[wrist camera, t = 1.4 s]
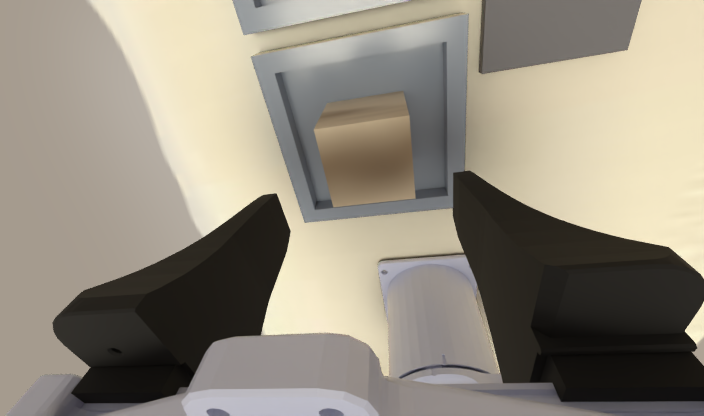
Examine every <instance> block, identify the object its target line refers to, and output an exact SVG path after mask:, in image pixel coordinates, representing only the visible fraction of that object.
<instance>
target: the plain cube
mask: <svg viewBox="0 0 704 416" xmlns="http://www.w3.org/2000/svg"><path fill="white" fill-rule="evenodd" d="M314 133H315V137H316V141H317V145H318V149H319V153H320V157H321V160H322V164H323V168H324V172H325V176H326V180H327V184H328V188H329V192H330V196H331V200H332V204H333V207H342V206H351V205H360V204H370V203H379V202H388V201H398V200H407V199H416V198H415V184H414V171H413V157H412V144H411V131H410V117H409V112H408V108H407V104H406V100H405V96H404V92H403V91H398V92H392V93H386V94H380V95H374V96H368V97H361V98H355V99H349V100H343V101H337V102H331V103H327V104H326V106H325V108H324V110H323V112H322V114H321V116H320V118H319V120H318V122H317V124H316V126H315V128H314Z"/></svg>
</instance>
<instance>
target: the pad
mask: <svg viewBox="0 0 704 416" xmlns="http://www.w3.org/2000/svg"><path fill="white" fill-rule="evenodd" d="M641 1H642V0H482V22H481V43H480V64H479V72H480V73H482V74H485V73H491V72H497V71H503V70H509V69H515V68H521V67H527V66H533V65H539V64H545V63H551V62H557V61H563V60H569V59H576V58H582V57H588V56H594V55H600V54H606V53H612V52H618V51H624V50H628V46H629V43H630V39H631V36H632V32H633V29H634V25H635V22H636V18H637V15H638V11H639V8H640V4H641Z"/></svg>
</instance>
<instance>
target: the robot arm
mask: <svg viewBox="0 0 704 416" xmlns="http://www.w3.org/2000/svg"><path fill="white" fill-rule="evenodd" d="M453 218H454V222H455V226H456V230H457V234H458V238H459V240H460V243H461V245H462V248H463V250H464V253H465V254H464V255H451V256H438V257H425V258H412V259H399V260H386V261H380V262H379V263H378V272H379V278H380V283H381V289H382V294H383V300H384V305H385V311H386V316H387V322H388V345H389V377H388V376H383V374H382V371H381V367H380V363H379V359H378V357H377V356H376V355H375V353H374V352H373V350H372V349H371V348H370V346H368V345H367V344H366V343H364V342H362V341H360V340H358V339H355V338H353V337H351V336H349V335H342V334H333V333H310V334H286V335H261V332H262V327H263V323H264V319H265V314H266V310H267V306H268V303H269V299H270V296H271V293H272V291H273V288H274V285H275V282H276V280H277V277H278V274H279V272H280V269H281V266H282V263H283V260H284V258H285V255H286V252H287V247H288V243H289V237H290V229H289V226H288V223H287V220H286V218H285V215H284V212H283V210H282V207H281V204H280V201H279V199H278V196H277V194H268V195H262V196H261V197H259V198H257V199H256V200H255V201H253V202H252V203H250V204H249V205H248V206H246V207H245V208H244V209H242V210H241V211H240V212H238V213H237V214H236V215H234V216H233V217H232V218H230V219H229V220H228V221H226V222H225V223H223V224H222V225H221V226H219V227H218V228H216V229H215V230H213V231H212V232H211V233H209V234H208V235H206V236H205V237H203V238H201V239H200V240H198V241H197V242H195V243H193V244H191V245H190V246H188V247H186V248H185V249H183V250H181V251H179V252H177V253H175V254H173V255H171V256H169V257H167V258H165V259H163V260H161V261H159V262H157V263H155V264H153V265H150V266H148V267H146V268H144V269H141V270H139V271H137V272H134V273H131V274H129V275H126V276H124V277H121V278H119V279H116V280H113V281H110V282H107V283H104V284H101V285H99V286H96V287H93V288H90V289H87V290H84V291H83V292H81V293H80V294H79V295H78V296H77V297H76V298H75V299H74V300H73V301H72V302H71V303H70V304H69V305H68V306H67V307H66V308H65V309H64V310H63V311H62V312H61V313H60V314H59V315H58V316H57V317H56V318H55V319H54V321H53V330H54V333H55V335H56V336H57V338H58V339H59V340H60V341H61V342H62V343H63V344H64V345H65V346H66V347H67V348H68V349H69V350H71V351H72V352H73V353H74V354H75V355H77V356H78V357H79V358H80V359H81V360H83V361H84V362H85V363H86V364H87V365H88V366H89V367H91V368H90V369H89V370H88V372H87V373H86V374H85V375H84V377H81V376H78V375H73V374H53V375H42V376H40V377H39V378H38V379H37V381H36V382H35V383H34V384H33V385H32V386H31V387H30V388H29V390H27V392H26V393H25V394H24V395H23V396H22V397H21V398H20V400H19V401H18V402H17V403H16V404H15V405H14V406H13V407H12V408H11V410H9V412H8V413H7V414H6V415H5V416H704V366H703V365H702V363H701V362H700V361H699V360H698V359H697V358H696V357H695V356H694V354H693V353H692V352H693V351H695V350H696V349H697V346H696V343H695V342H694V341H693V340H692V339H691V338H690V337H689V336H688V335H687V334H686V332H685V329H686V328H687V326H688V325H689V324H690V322H691V321H692V319H693V318H694V316H695V315H696V313H697V312H698V310H699V309H700V307H701V306H702V304H703V302H704V279H703V277H702V276H701V274H700V273H698V272H697V271H696V270H695V269H694V268H693V267H691V266H690V265H689V264H688V263H687V262H686V261H684V260H683V259H682V258H681V257H680V256H679V255H677V254H676V253H675V252H674V251H673V250H671V249H670V248H669V247H665V246H660V245H655V244H650V243H644V242H639V241H634V240H629V239H624V238H620V237H616V236H612V235H608V234H604V233H601V232H597V231H593V230H590V229H586V228H583V227H580V226H577V225H574V224H571V223H568V222H565V221H562V220H559V219H557V218H554V217H552V216H549V215H547V214H544V213H542V212H540V211H538V210H535V209H533V208H531V207H529V206H527V205H525V204H523V203H521V202H519V201H517V200H515V199H514V198H512V197H510V196H508V195H507V194H505V193H503V192H502V191H500V190H498V189H497V188H495V187H494V186H492V185H491V184H489V183H488V182H486V181H485V180H483V179H482V178H480V177H479V176H477V175H476V174H474V173H473V172H471V171H463V172H454V173H453ZM383 270H386V271H383ZM477 286H478V288H479V291H480V295H481V298H482V302H483V306H484V309H485V313H486V316H487V320H488V324H489V328H490V332H491V336H492V339H493V343H494V348H495V352H496V356H497V360H498V364H499V368H500V372H501V373H499V370H498V367H497V364H496V361H495V358H494V355H493V352H492V348H491V345H490V342H489V339H488V336H487V333H486V330H485V327H484V323H483V320H482V317H481V314H480V311H479V308H478V305H477V301H476V295H477Z"/></svg>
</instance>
